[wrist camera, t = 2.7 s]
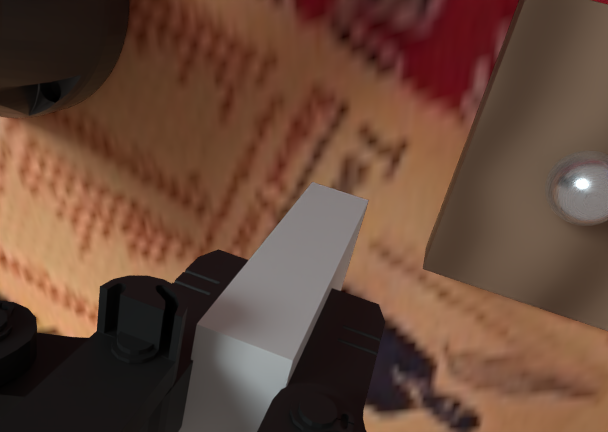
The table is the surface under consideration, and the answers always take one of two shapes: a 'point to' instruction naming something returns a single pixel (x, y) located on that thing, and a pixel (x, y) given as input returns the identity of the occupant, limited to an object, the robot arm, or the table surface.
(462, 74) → the table surface
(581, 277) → the deck
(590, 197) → the ball
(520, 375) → the table surface
